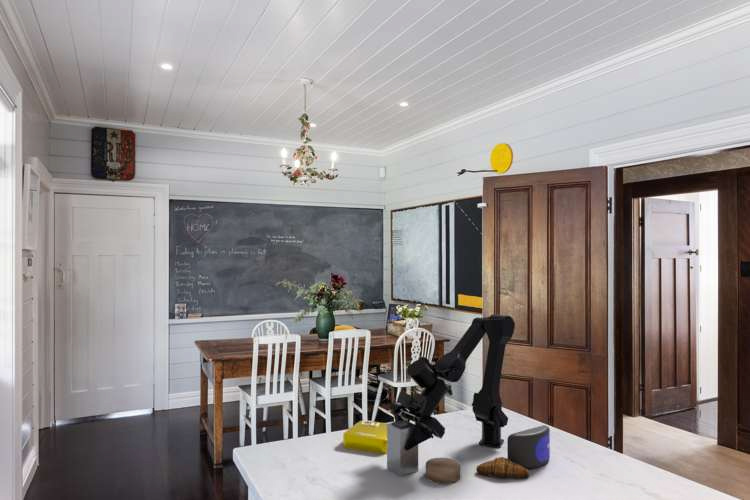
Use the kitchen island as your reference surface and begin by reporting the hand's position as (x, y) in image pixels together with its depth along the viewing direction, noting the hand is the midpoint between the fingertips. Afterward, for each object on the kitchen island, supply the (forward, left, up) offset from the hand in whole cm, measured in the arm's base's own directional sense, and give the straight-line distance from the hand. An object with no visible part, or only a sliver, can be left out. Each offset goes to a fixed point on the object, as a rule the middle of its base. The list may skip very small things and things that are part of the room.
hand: (398, 446), depth 135 cm
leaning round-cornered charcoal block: (-21, +31, -7) cm, 37 cm away
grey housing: (-1, +1, -7) cm, 7 cm away
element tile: (-16, -15, -7) cm, 23 cm away
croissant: (-10, +26, -7) cm, 28 cm away
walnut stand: (-2, +12, -7) cm, 14 cm away
